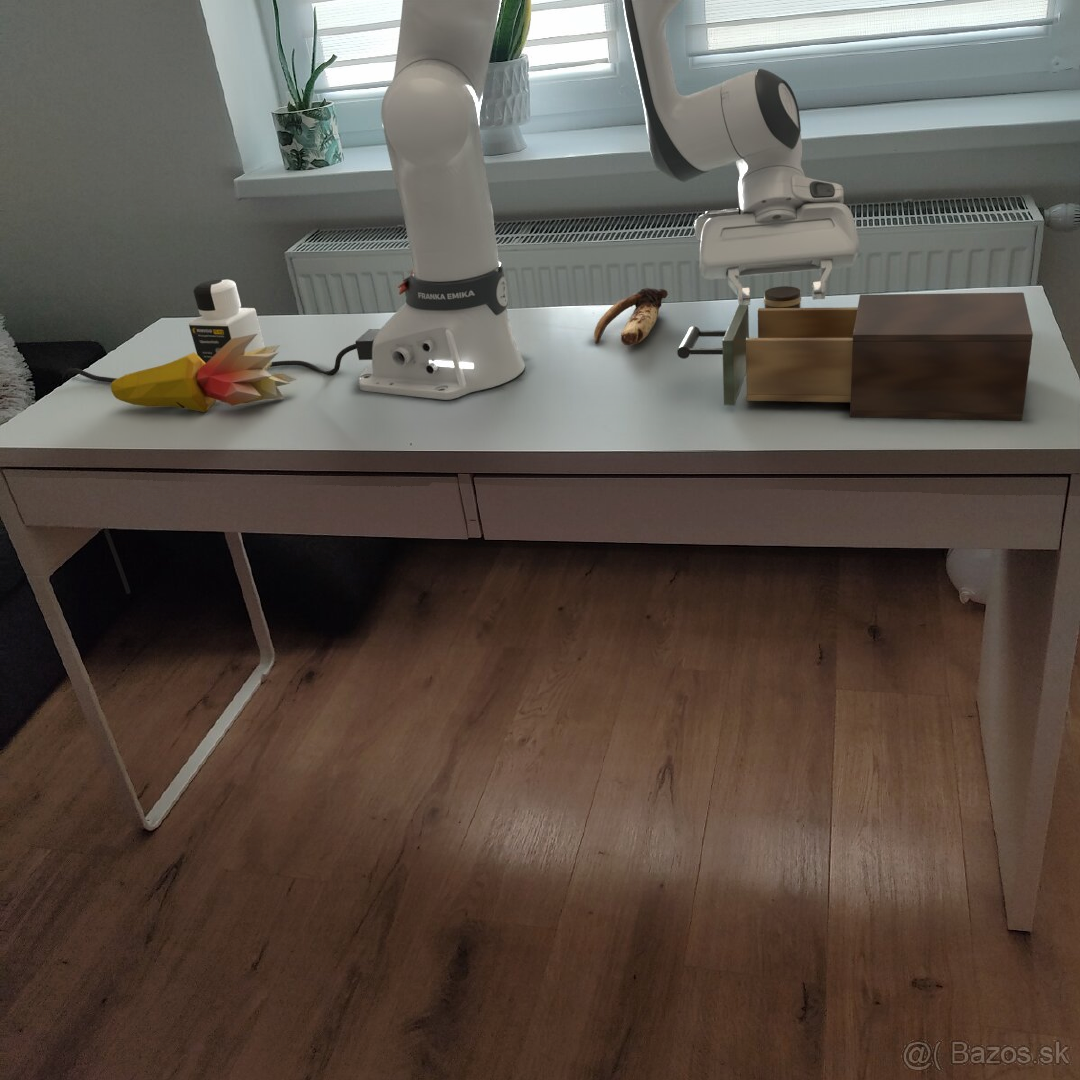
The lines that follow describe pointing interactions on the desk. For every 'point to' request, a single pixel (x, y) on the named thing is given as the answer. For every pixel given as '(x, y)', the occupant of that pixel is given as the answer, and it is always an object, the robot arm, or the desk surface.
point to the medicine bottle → (222, 319)
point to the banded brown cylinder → (782, 297)
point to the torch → (205, 379)
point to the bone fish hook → (634, 315)
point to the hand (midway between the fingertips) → (781, 300)
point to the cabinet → (941, 356)
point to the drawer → (784, 354)
